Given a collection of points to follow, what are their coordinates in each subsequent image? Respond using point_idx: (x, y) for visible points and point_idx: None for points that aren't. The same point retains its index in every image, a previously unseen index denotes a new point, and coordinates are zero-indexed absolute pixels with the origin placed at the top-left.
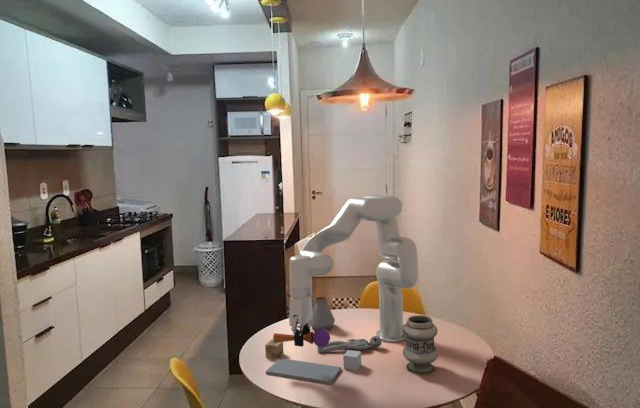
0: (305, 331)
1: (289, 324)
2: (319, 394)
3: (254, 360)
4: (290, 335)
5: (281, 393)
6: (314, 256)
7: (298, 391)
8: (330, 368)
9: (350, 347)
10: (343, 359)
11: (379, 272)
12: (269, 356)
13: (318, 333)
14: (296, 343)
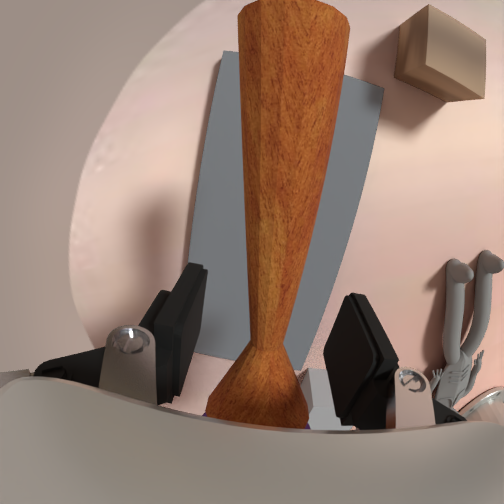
0: (347, 376)
1: (8, 384)
2: (114, 314)
3: None
4: (271, 222)
5: (81, 185)
6: None
7: (107, 243)
8: (286, 340)
9: (433, 376)
10: (312, 394)
11: None
12: (401, 39)
13: None
14: (160, 296)
